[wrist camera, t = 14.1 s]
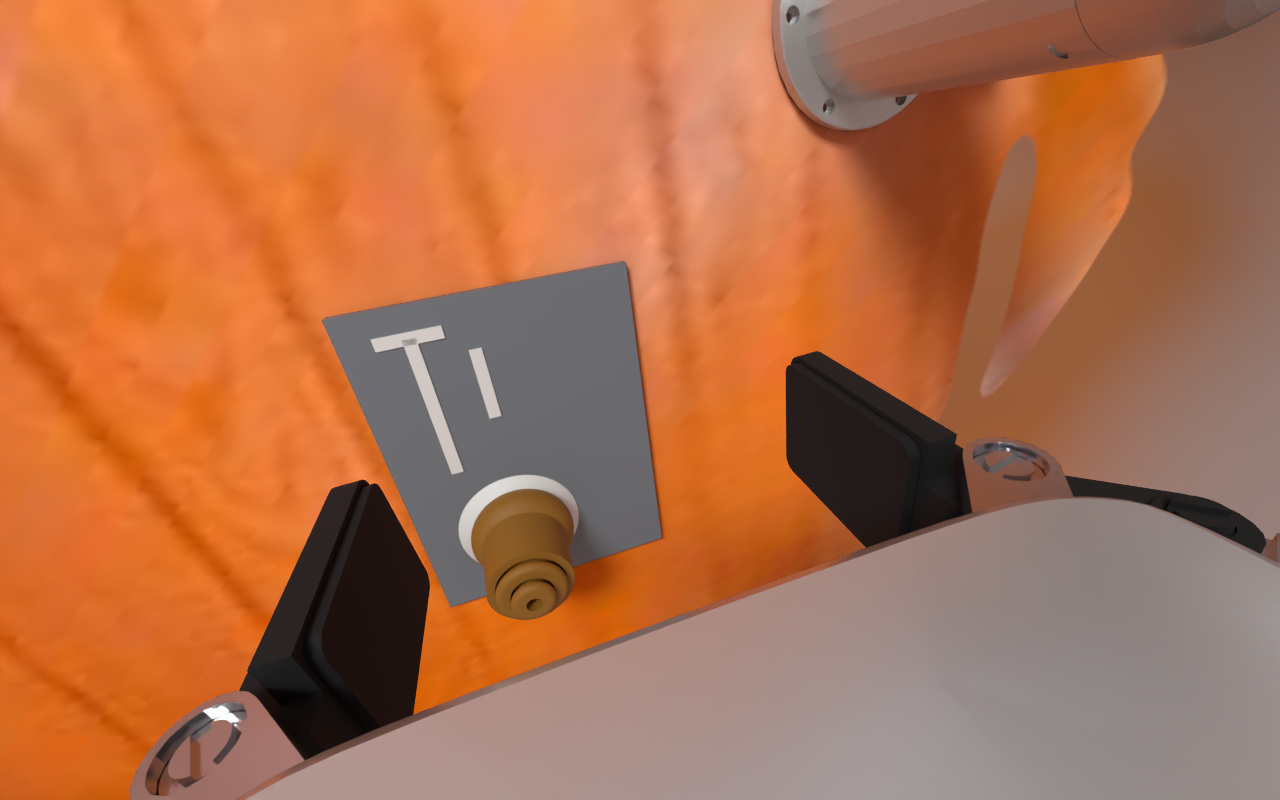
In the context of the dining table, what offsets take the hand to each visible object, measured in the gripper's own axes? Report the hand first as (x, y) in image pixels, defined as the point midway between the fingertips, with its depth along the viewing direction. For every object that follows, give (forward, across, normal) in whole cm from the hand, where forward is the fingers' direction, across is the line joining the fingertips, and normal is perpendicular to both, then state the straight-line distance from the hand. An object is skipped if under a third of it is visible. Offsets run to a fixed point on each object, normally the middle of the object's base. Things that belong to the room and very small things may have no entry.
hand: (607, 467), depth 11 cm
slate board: (+22, +4, +13) cm, 26 cm away
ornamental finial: (+21, +6, +18) cm, 29 cm away
